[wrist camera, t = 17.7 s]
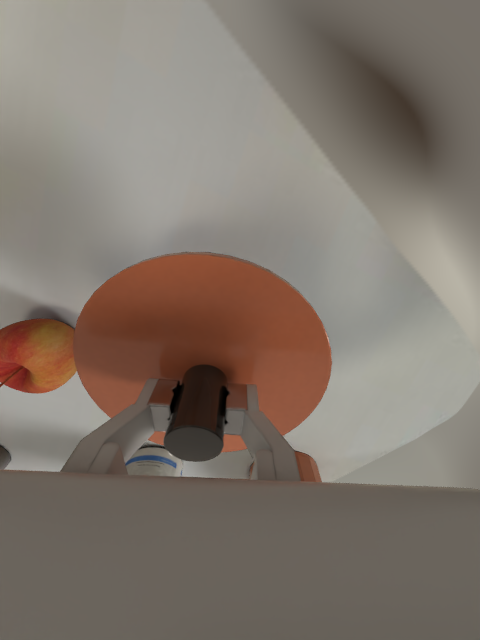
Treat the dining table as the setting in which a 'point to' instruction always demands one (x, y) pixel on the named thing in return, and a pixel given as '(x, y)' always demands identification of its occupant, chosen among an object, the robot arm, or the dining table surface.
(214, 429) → the bowl lid
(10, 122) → the dining table surface
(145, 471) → the supplement tub
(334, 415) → the dining table surface
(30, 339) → the apple
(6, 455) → the pillar candle
